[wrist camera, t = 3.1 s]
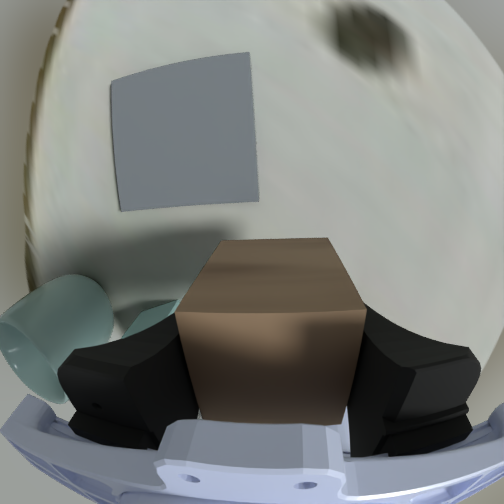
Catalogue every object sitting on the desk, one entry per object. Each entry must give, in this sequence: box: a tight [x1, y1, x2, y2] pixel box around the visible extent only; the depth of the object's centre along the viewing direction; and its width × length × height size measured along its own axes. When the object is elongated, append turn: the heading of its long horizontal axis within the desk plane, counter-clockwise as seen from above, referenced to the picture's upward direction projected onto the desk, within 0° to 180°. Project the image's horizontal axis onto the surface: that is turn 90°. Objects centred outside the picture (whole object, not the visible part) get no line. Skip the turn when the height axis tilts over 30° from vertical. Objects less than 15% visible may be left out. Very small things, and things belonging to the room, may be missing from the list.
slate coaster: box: [111, 52, 259, 212], centre depth 17 cm, size 10×10×1 cm
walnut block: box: [174, 238, 367, 426], centre depth 11 cm, size 5×5×6 cm
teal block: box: [121, 300, 180, 339], centre depth 21 cm, size 4×4×4 cm
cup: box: [0, 274, 114, 404], centre depth 18 cm, size 8×8×10 cm
